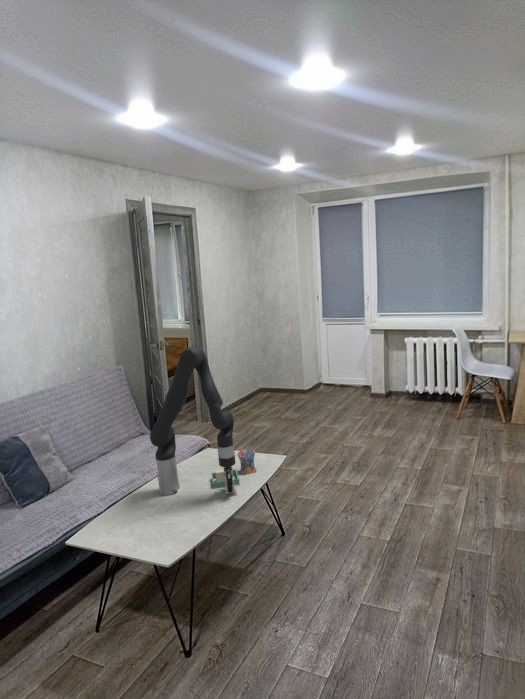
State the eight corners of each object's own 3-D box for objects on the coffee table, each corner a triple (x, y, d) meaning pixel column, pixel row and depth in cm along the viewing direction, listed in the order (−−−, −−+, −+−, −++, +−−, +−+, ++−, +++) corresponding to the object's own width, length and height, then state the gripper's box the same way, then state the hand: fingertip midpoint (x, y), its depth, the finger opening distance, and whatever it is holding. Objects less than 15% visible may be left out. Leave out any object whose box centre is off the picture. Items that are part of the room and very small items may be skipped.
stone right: (226, 493, 231) (224, 481, 230) (225, 489, 235) (224, 477, 234) (234, 492, 232) (233, 479, 231) (234, 488, 236) (232, 476, 235)
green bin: (213, 490, 241) (212, 483, 240) (212, 480, 253) (211, 473, 252) (239, 486, 242) (238, 478, 242) (237, 476, 255) (236, 469, 254)
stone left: (216, 484, 245) (215, 473, 244) (216, 481, 249) (214, 470, 248) (224, 483, 246) (223, 471, 245) (224, 480, 250) (222, 468, 249)
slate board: (215, 501, 229) (215, 499, 229) (214, 494, 236) (214, 492, 236) (237, 497, 231) (237, 495, 231) (236, 491, 238) (235, 489, 237)
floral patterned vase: (253, 476, 252) (251, 456, 250) (236, 475, 255) (234, 455, 254) (261, 467, 263) (259, 448, 261) (245, 466, 266) (243, 447, 265)
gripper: (217, 450, 237) (220, 484, 240) (219, 461, 223) (223, 497, 226) (233, 448, 238) (236, 482, 241) (236, 459, 224) (239, 495, 227)
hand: (230, 489), depth 233 cm, fingers closed on stone right, 4 cm apart
